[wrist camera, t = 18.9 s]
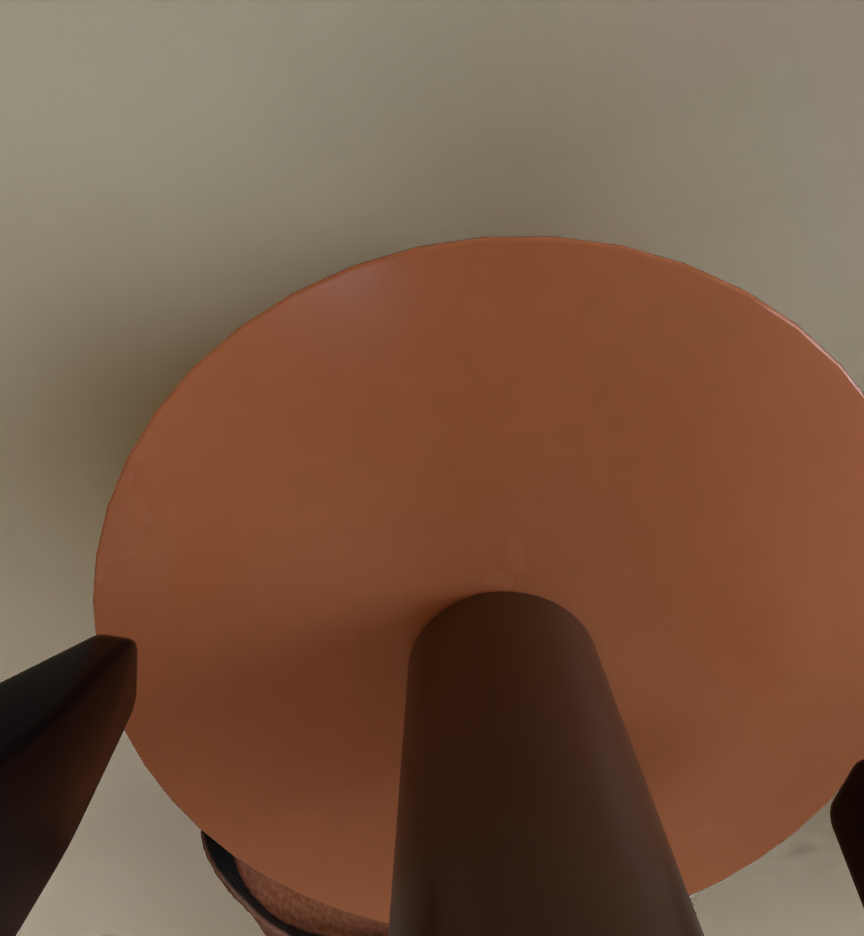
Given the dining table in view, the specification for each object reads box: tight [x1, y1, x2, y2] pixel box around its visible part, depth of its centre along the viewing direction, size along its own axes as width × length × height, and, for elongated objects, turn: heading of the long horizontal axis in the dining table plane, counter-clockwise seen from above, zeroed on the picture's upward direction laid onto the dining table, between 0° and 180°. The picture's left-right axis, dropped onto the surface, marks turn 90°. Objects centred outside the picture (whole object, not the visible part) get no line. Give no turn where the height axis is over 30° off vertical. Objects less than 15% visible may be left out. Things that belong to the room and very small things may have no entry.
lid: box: [93, 236, 864, 936], centre depth 6 cm, size 11×11×7 cm
